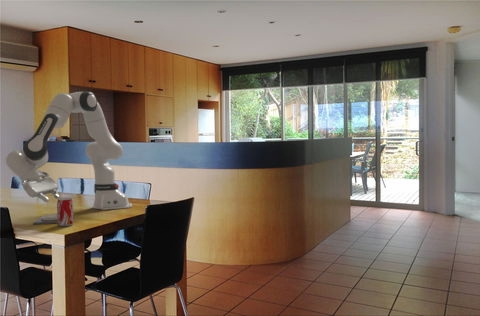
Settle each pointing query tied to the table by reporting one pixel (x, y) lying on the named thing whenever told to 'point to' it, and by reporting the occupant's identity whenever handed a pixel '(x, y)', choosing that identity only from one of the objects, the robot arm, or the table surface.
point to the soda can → (65, 212)
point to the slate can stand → (47, 219)
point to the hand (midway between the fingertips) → (52, 199)
